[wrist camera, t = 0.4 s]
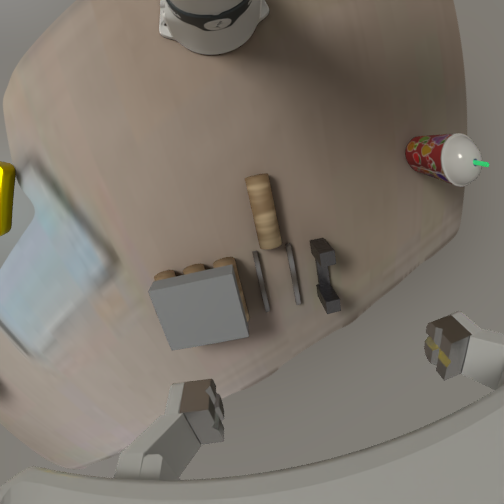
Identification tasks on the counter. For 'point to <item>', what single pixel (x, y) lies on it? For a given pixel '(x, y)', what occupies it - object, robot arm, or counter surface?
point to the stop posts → (325, 274)
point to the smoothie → (446, 157)
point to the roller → (263, 211)
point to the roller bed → (230, 261)
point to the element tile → (6, 196)
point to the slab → (200, 308)
